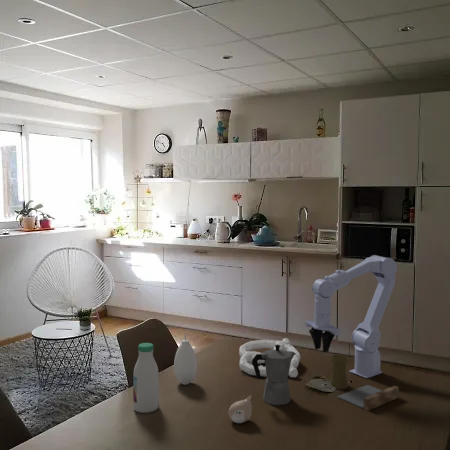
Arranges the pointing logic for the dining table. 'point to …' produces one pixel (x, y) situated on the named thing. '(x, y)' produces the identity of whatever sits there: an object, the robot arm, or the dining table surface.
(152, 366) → the milk bottle
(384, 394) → the stop rail
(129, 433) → the dining table surface
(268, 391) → the coffeepot
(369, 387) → the mat
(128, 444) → the dining table surface
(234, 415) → the garlic bulb
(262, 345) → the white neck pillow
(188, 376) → the sauce bottle
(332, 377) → the cork
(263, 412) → the dining table surface
